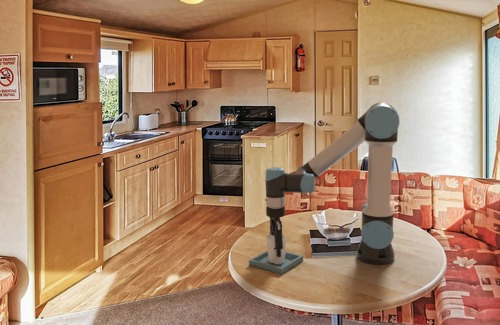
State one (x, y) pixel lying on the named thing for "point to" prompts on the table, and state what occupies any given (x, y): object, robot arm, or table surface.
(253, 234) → the table surface
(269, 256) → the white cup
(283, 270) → the slate tray
